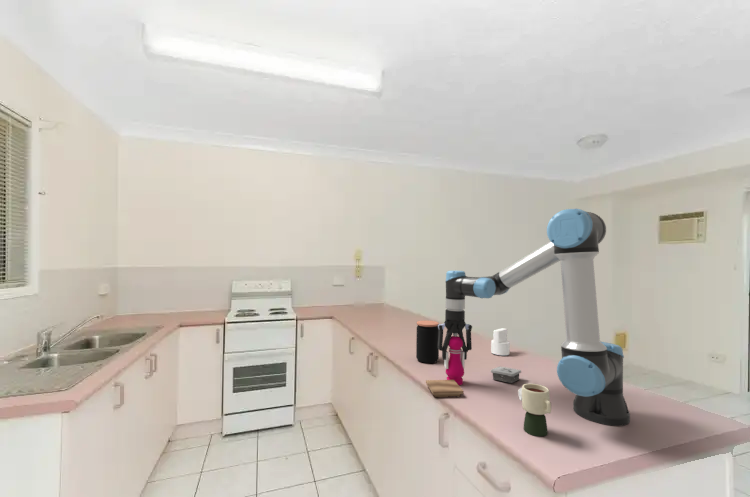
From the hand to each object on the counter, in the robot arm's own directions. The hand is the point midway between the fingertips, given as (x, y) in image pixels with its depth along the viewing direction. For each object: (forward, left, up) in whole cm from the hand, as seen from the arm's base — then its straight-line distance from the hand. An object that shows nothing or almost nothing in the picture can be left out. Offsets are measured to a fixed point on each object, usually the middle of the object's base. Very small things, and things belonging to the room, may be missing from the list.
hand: (454, 367), depth 136 cm
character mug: (-39, -11, -6) cm, 41 cm away
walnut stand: (-9, +7, -6) cm, 13 cm away
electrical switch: (-1, -25, -6) cm, 26 cm away
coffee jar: (+29, +4, -6) cm, 30 cm away
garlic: (-17, -22, -6) cm, 28 cm away
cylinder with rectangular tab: (+39, -37, -6) cm, 54 cm away
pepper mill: (0, 0, -6) cm, 6 cm away
